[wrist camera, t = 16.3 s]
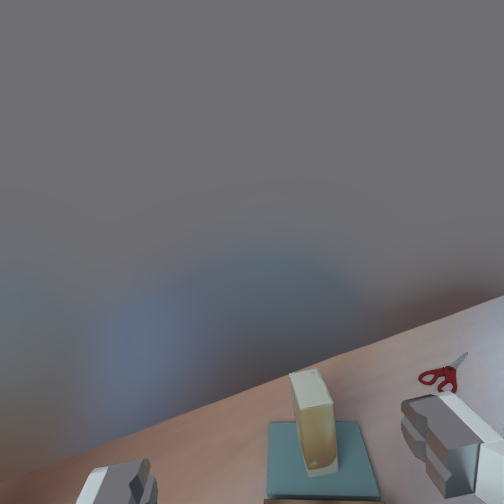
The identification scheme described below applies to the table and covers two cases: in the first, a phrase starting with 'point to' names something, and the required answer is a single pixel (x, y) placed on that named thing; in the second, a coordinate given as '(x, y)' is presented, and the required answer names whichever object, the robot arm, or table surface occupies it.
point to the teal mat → (326, 486)
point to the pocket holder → (316, 502)
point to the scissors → (444, 374)
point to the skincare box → (315, 422)
